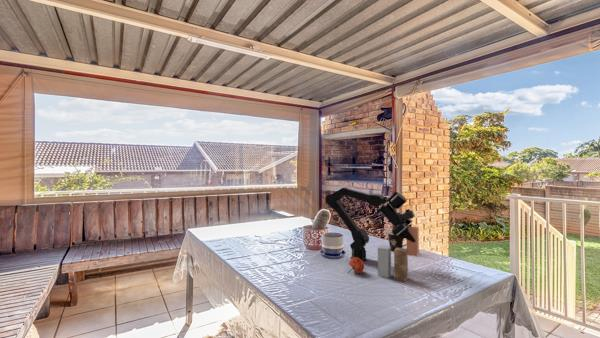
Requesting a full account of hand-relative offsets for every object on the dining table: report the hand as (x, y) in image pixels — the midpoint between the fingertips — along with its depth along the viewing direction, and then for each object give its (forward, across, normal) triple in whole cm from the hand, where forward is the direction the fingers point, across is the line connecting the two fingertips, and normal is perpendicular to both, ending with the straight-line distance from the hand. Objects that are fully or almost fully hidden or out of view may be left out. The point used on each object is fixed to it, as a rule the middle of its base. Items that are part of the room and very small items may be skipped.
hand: (415, 240), depth 131 cm
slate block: (+2, -15, +17) cm, 23 cm away
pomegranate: (-6, -18, +26) cm, 32 cm away
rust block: (+4, 0, +6) cm, 7 cm away
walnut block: (+7, -15, +12) cm, 20 cm away
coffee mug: (0, +26, +20) cm, 32 cm away
